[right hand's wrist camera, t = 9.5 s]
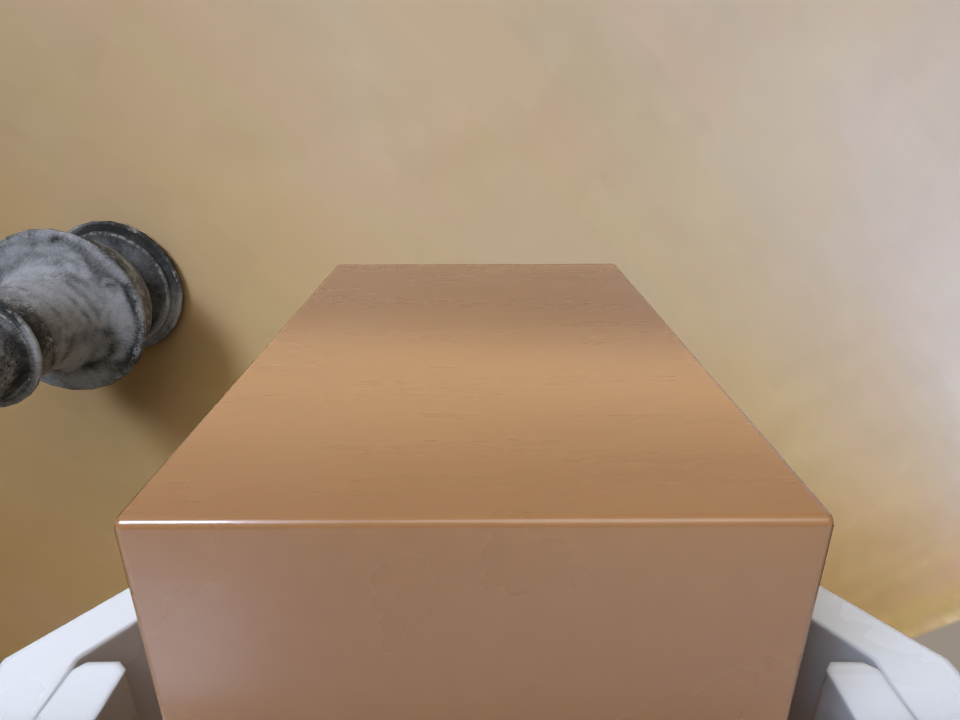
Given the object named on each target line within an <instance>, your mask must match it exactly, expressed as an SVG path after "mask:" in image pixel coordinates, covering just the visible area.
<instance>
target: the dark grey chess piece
mask: <svg viewBox="0 0 960 720" xmlns="http://www.w3.org/2000/svg"><path fill="white" fill-rule="evenodd" d="M182 302H183V292H182V287H181V281H180V277H179V275H178V273H177V271H176V269H175V267H174V264H173V262H172V261H171V259H170V258H169V257H168V255H167V254H166V253H165V252H164V250H163V249H162V248H161V247H160V246H159V245H158V244H157V243H156V242H154V241H153V240H152V239H151V238H150V237H148V236H147V235H146V234H144V233H142V232H140V231H138V230H136V229H134V228H132V227H130V226H128V225H124V224H120V223H116V222H112V221H93V222H89V223H86V224H83V225H80V226H77V227H74V228H73V229H71V230H70V231H69V232H63V231H58V230H54V229H29V230H26V231H23V232H20V233H17V234H13V235H10V236H7V237H6V238H5V239H3V240H2V241H1V242H0V407H7V406H10V405H13V404H17V403H19V402H21V401H22V400H24V399H25V398H26V397H28V396H29V395H31V394H32V392H33V391H34V390H35V388H36V387H37V386H38V384H39V382H40V380H41V381H43V382H45V383H47V384H50V385H53V386H57V387H62V388H66V389H71V390H92V389H96V388H100V387H103V386H107V385H110V384H112V383H114V382H116V381H117V380H119V379H120V378H122V377H123V376H125V375H127V374H128V373H129V372H130V371H131V369H132V368H133V367H134V366H135V364H136V363H137V362H138V361H139V359H140V357H141V355H142V352H143V349H144V348H145V347H148V346H152V345H154V344H155V343H157V342H159V341H160V340H162V339H163V338H165V337H166V336H167V335H168V334H169V333H170V332H171V330H172V329H173V328H174V327H175V326H176V324H177V322H178V319H179V317H180V314H181V311H182Z"/></svg>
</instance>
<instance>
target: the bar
mask: <svg viewBox="0 0 960 720" xmlns="http://www.w3.org/2000/svg"><path fill="white" fill-rule="evenodd" d="M833 527H834V524H833V518H832V515H831V514H830V513H829V511H828V510H827V509H826V508H825V507H824V506H823V504H822V503H821V502H820V501H819V500H818V499H817V497H816V496H815V495H814V494H813V493H812V492H811V491H810V489H809V488H808V487H807V486H806V485H805V484H804V482H803V481H802V480H801V479H800V478H799V477H798V476H797V474H796V473H795V472H794V471H793V470H792V469H791V467H790V466H789V465H788V464H787V463H786V462H785V461H784V459H783V458H782V457H781V456H780V455H779V454H778V452H777V451H776V450H775V449H774V448H773V447H772V446H771V444H770V443H769V442H768V441H767V440H766V439H765V437H764V436H763V435H762V434H761V433H760V432H759V430H758V429H757V428H756V427H755V426H754V425H753V424H752V422H751V421H750V420H749V419H748V418H747V417H746V415H745V414H744V413H743V412H742V411H741V410H740V409H739V407H738V406H737V405H736V404H735V403H734V402H733V400H732V399H731V398H730V397H729V396H728V395H727V394H726V392H725V391H724V390H723V389H722V388H721V387H720V385H719V384H718V383H717V382H716V381H715V380H714V379H713V377H712V376H711V375H710V374H709V373H708V372H707V370H706V369H705V368H704V367H703V366H702V365H701V363H700V362H699V361H698V360H697V359H696V358H695V357H694V355H693V354H692V353H691V352H690V351H689V350H688V348H687V347H686V346H685V345H684V344H683V343H682V342H681V340H680V339H679V338H678V337H677V336H676V335H675V333H674V332H673V331H672V330H671V329H670V328H669V327H668V325H667V324H666V323H665V322H664V321H663V320H662V318H661V317H660V316H659V315H658V314H657V313H656V312H655V310H654V309H653V308H652V307H651V306H650V305H649V303H648V302H647V301H646V300H645V299H644V298H643V296H642V295H641V294H640V293H639V292H638V291H637V290H636V288H635V287H634V286H633V285H632V284H631V283H630V281H629V280H628V279H627V278H626V277H625V276H624V275H623V273H622V272H621V271H620V270H619V269H618V268H617V266H616V265H614V264H440V265H338V266H337V267H336V268H335V269H334V270H333V271H332V272H331V274H330V275H329V276H328V277H327V278H326V279H325V280H324V282H323V283H322V284H321V285H320V286H319V287H318V288H317V290H316V291H315V292H314V293H313V294H312V295H311V296H310V298H309V299H308V300H307V301H306V302H305V303H304V304H303V306H302V307H301V308H300V309H299V310H298V311H297V312H296V314H295V315H294V316H293V317H292V318H291V319H290V320H289V322H288V323H287V324H286V325H285V326H284V327H283V328H282V330H281V331H280V332H279V333H278V334H277V335H276V336H275V337H274V339H273V340H272V341H271V342H270V343H269V344H268V345H267V347H266V348H265V349H264V350H263V351H262V352H261V353H260V355H259V356H258V357H257V358H256V359H255V360H254V361H253V363H252V364H251V365H250V366H249V367H248V368H247V369H246V371H245V372H244V373H243V374H242V375H241V376H240V377H239V379H238V380H237V381H236V382H235V383H234V384H233V385H232V387H231V388H230V389H229V390H228V391H227V392H226V393H225V394H224V396H223V397H222V398H221V399H220V400H219V401H218V402H217V404H216V405H215V406H214V407H213V408H212V409H211V410H210V412H209V413H208V414H207V415H206V416H205V417H204V418H203V420H202V421H201V422H200V423H199V424H198V425H197V426H196V428H195V429H194V430H193V431H192V432H191V433H190V434H189V436H188V437H187V438H186V439H185V440H184V441H183V442H182V444H181V445H180V446H179V447H178V448H177V449H176V450H175V452H174V453H173V454H172V455H171V456H170V457H169V458H168V459H167V461H166V462H165V463H164V464H163V465H162V466H161V467H160V469H159V470H158V471H157V472H156V473H155V474H154V475H153V477H152V478H151V479H150V480H149V481H148V482H147V483H146V485H145V486H144V487H143V488H142V489H141V490H140V491H139V493H138V494H137V495H136V496H135V497H134V498H133V499H132V501H131V502H130V503H129V504H128V505H127V506H126V507H125V509H124V510H123V511H122V512H121V513H120V514H119V515H118V516H117V518H116V521H115V526H114V530H115V534H116V538H117V542H118V546H119V550H120V554H121V558H122V562H123V566H124V570H125V574H126V577H127V581H128V585H129V589H130V593H131V597H132V601H133V605H134V609H135V613H136V617H137V621H138V625H139V629H140V633H141V636H142V640H143V644H144V648H145V652H146V656H147V660H148V664H149V668H150V672H151V676H152V680H153V684H154V688H155V692H156V695H157V699H158V703H159V707H160V711H161V715H162V719H163V720H787V719H788V715H789V710H790V706H791V702H792V698H793V694H794V690H795V685H796V681H797V677H798V673H799V669H800V665H801V660H802V656H803V652H804V648H805V644H806V640H807V635H808V631H809V627H810V623H811V619H812V615H813V610H814V606H815V602H816V598H817V594H818V590H819V585H820V581H821V577H822V573H823V569H824V564H825V560H826V556H827V552H828V548H829V544H830V539H831V535H832V531H833Z"/></svg>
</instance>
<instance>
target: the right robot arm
mask: <svg viewBox="0 0 960 720" xmlns="http://www.w3.org/2000/svg"><path fill="white" fill-rule="evenodd" d="M0 720H163V719H162V715H161V711H160V707H159V703H158V699H157V695H156V692H155V688H154V684H153V680H152V676H151V672H150V668H149V664H148V660H147V656H146V652H145V648H144V644H143V640H142V636H141V633H140V629H139V625H138V621H137V617H136V613H135V609H134V605H133V601H132V597H131V593H130V589H129V588H128V589H126V590H124V591H122V592H121V593H119V594H117V595H115V596H114V597H112V598H110V599H108V600H107V601H105V602H103V603H101V604H100V605H98V606H96V607H94V608H93V609H91V610H89V611H87V612H86V613H84V614H82V615H80V616H79V617H77V618H75V619H73V620H72V621H70V622H68V623H66V624H65V625H63V626H61V627H60V628H58V629H56V630H54V631H53V632H51V633H49V634H47V635H46V636H44V637H42V638H40V639H39V640H37V641H35V642H33V643H32V644H30V645H28V646H26V647H25V648H23V649H21V650H19V651H18V652H16V653H14V654H12V655H11V656H9V657H7V658H5V659H4V660H3V661H2V663H1V664H0ZM787 720H960V673H959V672H958V671H957V670H956V669H955V667H954V666H953V665H952V664H951V663H950V661H949V660H948V659H946V658H944V657H942V656H941V655H939V654H937V653H935V652H934V651H932V650H930V649H928V648H927V647H925V646H923V645H922V644H920V643H918V642H916V641H915V640H913V639H911V638H910V637H908V636H906V635H904V634H903V633H901V632H899V631H897V630H896V629H894V628H892V627H891V626H889V625H887V624H885V623H884V622H882V621H880V620H878V619H877V618H875V617H873V616H872V615H870V614H868V613H866V612H865V611H863V610H861V609H859V608H858V607H856V606H854V605H853V604H851V603H849V602H847V601H846V600H844V599H842V598H840V597H839V596H837V595H835V594H834V593H832V592H830V591H828V590H827V589H825V588H823V587H821V586H820V585H819V590H818V594H817V598H816V602H815V606H814V610H813V615H812V619H811V623H810V627H809V631H808V635H807V640H806V644H805V648H804V652H803V656H802V660H801V665H800V669H799V673H798V677H797V681H796V685H795V690H794V694H793V698H792V702H791V706H790V710H789V715H788V719H787Z"/></svg>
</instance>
